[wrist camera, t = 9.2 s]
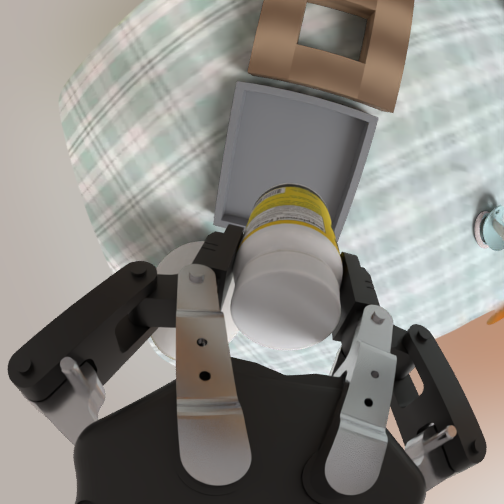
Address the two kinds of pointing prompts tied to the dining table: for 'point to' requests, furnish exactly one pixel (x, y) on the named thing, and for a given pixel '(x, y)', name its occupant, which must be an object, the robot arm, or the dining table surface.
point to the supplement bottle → (287, 271)
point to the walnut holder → (331, 65)
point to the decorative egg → (172, 265)
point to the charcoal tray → (291, 151)
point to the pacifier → (491, 229)
